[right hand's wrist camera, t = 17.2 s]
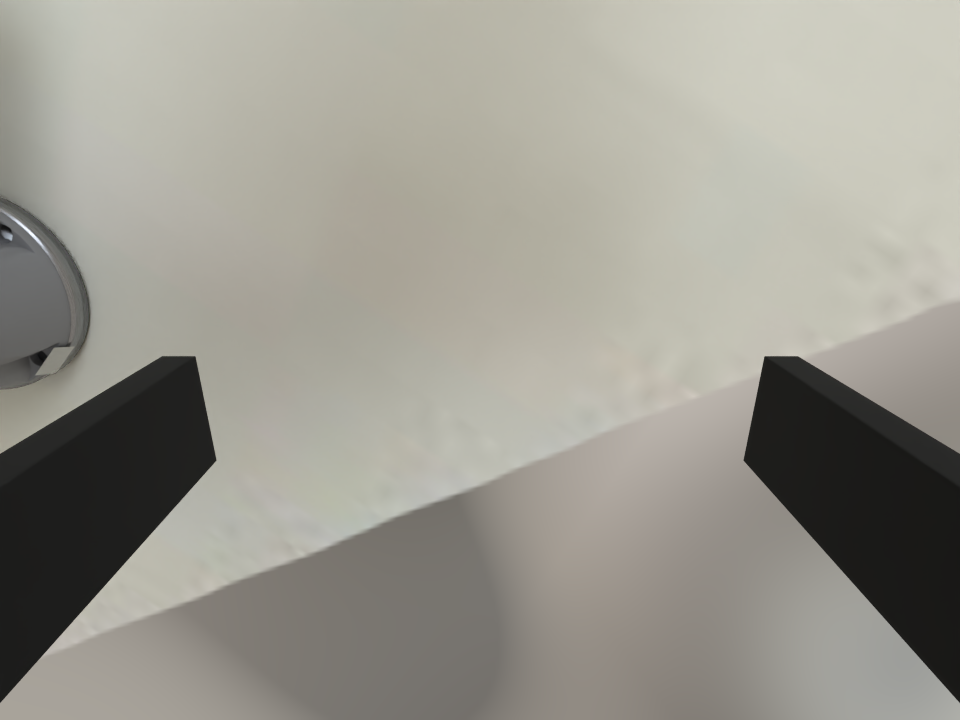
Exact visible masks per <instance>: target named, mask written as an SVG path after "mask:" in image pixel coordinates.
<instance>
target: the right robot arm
mask: <svg viewBox="0 0 960 720" xmlns="http://www.w3.org/2000/svg"><path fill="white" fill-rule="evenodd" d="M88 321H89V307H88V299H87V294H86V290H85V287H84V283H83V281H82V278H81V276H80V273H79V271H78V269H77V267H76V265H75V263H74V261H73V260H72V258H71V256H70V255H69V253H68V252H67V250H66V249H65V248H64V246H63V245H62V244H61V243H60V241H59V240H58V239H57V238H56V237H55V235H54V234H53V233H52V232H51V231H50V230H49V229H48V228H47V227H46V226H44V225H43V224H42V223H41V222H40V221H39V220H38V219H36V218H35V217H34V216H32V215H31V214H30V213H28V212H27V211H25V210H24V209H22V208H20V207H19V206H17V205H15V204H13V203H12V202H10V201H8V200H6V199H3V198H1V197H0V390H1V389H12V388H18V387H22V386H26V385H29V384H32V383H34V382H36V381H38V380H40V379H42V378H44V377H46V376H48V375H50V374H54V373H56V372H57V371H58V370H60V369H61V368H63V367H64V366H65V365H67V364H68V363H69V362H70V361H71V360H72V359H73V358H74V357H75V355H76V354H77V353H78V351H79V350H80V348H81V346H82V344H83V342H84V339H85V336H86V333H87V328H88ZM215 461H216V456H215V451H214V446H213V441H212V436H211V431H210V426H209V421H208V416H207V412H206V407H205V402H204V397H203V392H202V387H201V382H200V377H199V372H198V367H197V362H196V357H195V356H162V357H160V358H159V359H157V360H155V361H154V362H152V363H150V364H149V365H147V366H145V367H144V368H142V369H140V370H139V371H137V372H135V373H134V374H132V375H130V376H129V377H127V378H125V379H124V380H122V381H121V382H119V383H117V384H116V385H114V386H112V387H111V388H109V389H107V390H106V391H104V392H102V393H101V394H99V395H97V396H96V397H94V398H92V399H91V400H89V401H87V402H86V403H84V404H82V405H81V406H79V407H77V408H76V409H74V410H72V411H71V412H69V413H67V414H66V415H64V416H62V417H61V418H59V419H57V420H56V421H54V422H52V423H51V424H49V425H47V426H46V427H44V428H42V429H41V430H39V431H37V432H36V433H34V434H33V435H31V436H29V437H28V438H26V439H24V440H23V441H21V442H19V443H18V444H16V445H14V446H13V447H11V448H9V449H8V450H6V451H4V452H3V453H1V454H0V702H1V701H2V700H3V699H4V698H5V697H6V696H7V695H8V693H9V692H10V691H11V690H12V689H13V688H14V687H15V686H16V684H17V683H18V682H19V681H20V680H21V679H22V678H23V677H24V676H25V674H26V673H27V672H28V671H29V670H30V669H31V668H32V666H33V665H34V664H35V663H36V662H37V661H38V660H39V659H40V658H41V656H42V655H43V654H44V653H45V652H46V651H47V650H48V649H49V648H50V646H51V645H52V644H53V643H54V642H55V641H56V640H57V639H58V637H59V636H60V635H61V634H62V633H63V632H64V631H65V630H66V628H67V627H68V626H69V625H70V624H71V623H72V622H73V621H74V619H75V618H76V617H77V616H78V615H79V614H80V613H81V612H82V611H83V609H84V608H85V607H86V606H87V605H88V604H89V603H90V602H91V600H92V599H93V598H94V597H95V596H96V595H97V594H98V593H99V591H100V590H101V589H102V588H103V587H104V586H105V585H106V584H107V583H108V581H109V580H110V579H111V578H112V577H113V576H114V575H115V574H116V572H117V571H118V570H119V569H120V568H121V567H122V566H123V565H124V563H125V562H126V561H127V560H128V559H129V558H130V557H131V556H132V554H133V553H134V552H135V551H136V550H137V549H138V548H139V547H140V546H141V544H142V543H143V542H144V541H145V540H146V539H147V538H148V537H149V535H150V534H151V533H152V532H153V531H154V530H155V529H156V528H157V526H158V525H159V524H160V523H161V522H162V521H163V520H164V519H165V518H166V516H167V515H168V514H169V513H170V512H171V511H172V510H173V509H174V507H175V506H176V505H177V504H178V503H179V502H180V501H181V500H182V498H183V497H184V496H185V495H186V494H187V493H188V492H189V491H190V489H191V488H192V487H193V486H194V485H195V484H196V483H197V482H198V481H199V479H200V478H201V477H202V476H203V475H204V474H205V473H206V472H207V470H208V469H209V468H210V467H211V466H212V465H213V464H214V463H215ZM744 461H745V463H746V464H747V465H748V466H749V467H750V468H751V469H752V470H753V472H754V473H755V474H756V475H757V476H758V477H759V478H760V479H761V481H762V482H763V483H764V484H765V485H766V486H767V487H768V488H769V489H770V491H771V492H772V493H773V494H774V495H775V496H776V497H777V498H778V500H779V501H780V502H781V503H782V504H783V505H784V506H785V507H786V509H787V510H788V511H789V512H790V513H791V514H792V515H793V516H794V517H795V519H796V520H797V521H798V522H799V523H800V524H801V525H802V526H803V527H804V529H805V530H806V531H807V532H808V533H809V534H810V535H811V537H812V538H813V539H814V540H815V541H816V542H817V543H818V544H819V546H820V547H821V548H822V549H823V550H824V551H825V552H826V553H827V554H828V556H829V557H830V558H831V559H832V560H833V561H834V562H835V563H836V565H837V566H838V567H839V568H840V569H841V570H842V571H843V572H844V574H845V575H846V576H847V577H848V578H849V579H850V580H851V581H852V583H853V584H854V585H855V586H856V587H857V588H858V589H859V590H860V591H861V593H862V594H863V595H864V596H865V597H866V598H867V599H868V600H869V602H870V603H871V604H872V605H873V606H874V607H875V608H876V609H877V610H878V612H879V613H880V614H881V615H882V616H883V617H884V618H885V619H886V621H887V622H888V623H889V624H890V625H891V626H892V627H893V628H894V630H895V631H896V632H897V633H898V634H899V635H900V636H901V637H902V639H903V640H904V641H905V642H906V643H907V644H908V645H909V646H910V648H911V649H912V650H913V651H914V652H915V653H916V654H917V655H918V656H919V658H920V659H921V660H922V661H923V662H924V663H925V664H926V665H927V667H928V668H929V669H930V670H931V671H932V672H933V673H934V674H935V675H936V677H937V678H938V679H939V680H940V681H941V682H942V683H943V684H944V686H945V687H946V688H947V689H948V690H949V691H950V692H951V693H952V695H953V696H954V697H955V698H956V699H957V700H958V701H959V702H960V454H959V453H957V452H956V451H954V450H952V449H951V448H949V447H947V446H946V445H944V444H942V443H941V442H939V441H937V440H936V439H934V438H932V437H931V436H929V435H927V434H926V433H924V432H922V431H921V430H919V429H918V428H916V427H914V426H912V425H911V424H909V423H908V422H906V421H904V420H903V419H901V418H899V417H898V416H896V415H894V414H893V413H891V412H889V411H888V410H886V409H884V408H883V407H881V406H879V405H878V404H876V403H874V402H873V401H871V400H869V399H868V398H866V397H864V396H863V395H861V394H859V393H858V392H856V391H854V390H853V389H851V388H849V387H848V386H846V385H844V384H843V383H841V382H839V381H838V380H836V379H835V378H833V377H831V376H830V375H828V374H826V373H824V372H823V371H821V370H820V369H818V368H816V367H815V366H813V365H811V364H810V363H808V362H806V361H805V360H803V359H801V358H800V357H798V356H765V357H764V362H763V367H762V372H761V377H760V382H759V387H758V392H757V397H756V402H755V407H754V412H753V417H752V421H751V427H750V431H749V436H748V442H747V446H746V451H745V456H744Z"/></svg>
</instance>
